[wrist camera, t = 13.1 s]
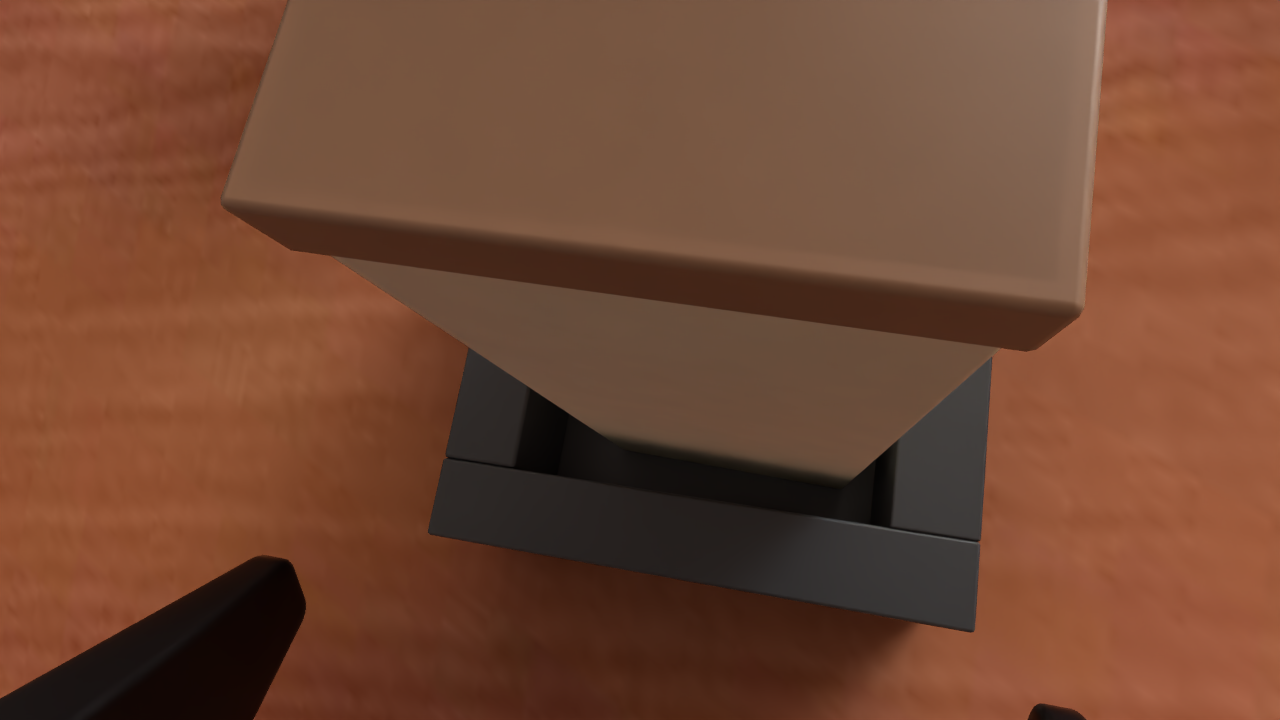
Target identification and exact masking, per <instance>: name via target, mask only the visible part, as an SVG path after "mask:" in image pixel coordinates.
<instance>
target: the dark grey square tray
mask: <svg viewBox="0 0 1280 720" xmlns="http://www.w3.org/2000/svg"><path fill="white" fill-rule="evenodd" d="M991 370H992V357H991V358H990V359H989V360H987V361H986V362H985V363H984V364H983V365H982V366H981V367H980V368H978V369H977V370H976V371H975V372H974V373H973V374H972V375H970V376H969V377H968V378H967V379H966V380H965V381H964V382H963V383H961V384H960V385H959V386H958V387H957V388H956V389H955V390H953V391H952V392H951V393H950V394H949V395H948V396H947V397H946V398H944V399H943V400H942V401H941V402H940V403H939V404H938V405H936V406H935V407H934V408H933V409H932V410H931V411H930V412H929V413H927V414H926V415H925V416H924V417H923V418H922V419H921V420H919V421H918V422H917V423H916V424H915V425H914V426H913V427H912V428H910V429H909V430H908V431H907V432H906V433H905V434H904V435H902V436H901V437H900V438H899V439H898V440H897V441H896V442H895V443H893V444H892V445H891V446H890V447H889V448H888V449H887V450H885V451H884V452H883V453H882V454H881V455H880V456H879V457H878V458H876V459H875V460H874V461H873V462H872V463H871V464H870V465H869V466H867V467H866V468H865V469H864V470H863V471H862V472H861V473H859V474H858V475H857V476H856V477H855V478H854V479H853V480H852V481H850V482H849V483H848V484H847V485H846V486H845V487H844V488H842V489H836V488H830V487H825V486H819V485H814V484H809V483H803V482H798V481H792V480H787V479H781V478H776V477H770V476H765V475H759V474H754V473H748V472H743V471H737V470H732V469H727V468H721V467H716V466H710V465H705V464H699V463H694V462H688V461H683V460H677V459H672V458H666V457H661V456H655V455H650V454H645V453H639V452H634V451H628V450H623V449H622V448H620V447H619V446H617V445H616V444H614V443H613V442H611V441H610V440H608V439H607V438H605V437H604V436H602V435H601V434H599V433H598V432H596V431H595V430H593V429H592V428H590V427H588V426H587V425H585V424H584V423H582V422H581V421H579V420H578V419H576V418H575V417H573V416H572V415H570V414H569V413H567V412H566V411H564V410H563V409H561V408H560V407H558V406H557V405H555V404H554V403H552V402H551V401H549V400H548V399H546V398H545V397H543V396H542V395H540V394H539V393H537V392H536V391H534V390H533V389H531V388H530V387H528V386H527V385H525V384H524V383H522V382H521V381H519V380H518V379H516V378H514V377H513V376H511V375H510V374H508V373H507V372H505V371H504V370H502V369H501V368H499V367H498V366H496V365H495V364H493V363H492V362H490V361H489V360H487V359H486V358H484V357H483V356H481V355H480V354H478V353H477V352H475V351H474V350H472V349H471V348H469V349H468V354H467V358H466V363H465V367H464V372H463V376H462V381H461V385H460V390H459V394H458V399H457V403H456V408H455V413H454V417H453V422H452V426H451V431H450V435H449V440H448V444H447V449H446V457H448V458H446V459H444V460H443V465H442V469H441V474H440V478H439V483H438V487H437V492H436V496H435V501H434V505H433V510H432V514H431V519H430V524H429V528H428V533H429V534H430V535H435V536H440V537H446V538H451V539H457V540H462V541H468V542H473V543H479V544H484V545H490V546H495V547H501V548H506V549H512V550H517V551H523V552H528V553H534V554H540V555H545V556H551V557H556V558H562V559H567V560H573V561H578V562H584V563H589V564H595V565H600V566H606V567H611V568H617V569H622V570H628V571H633V572H639V573H644V574H650V575H655V576H661V577H666V578H672V579H678V580H683V581H689V582H694V583H700V584H705V585H711V586H716V587H722V588H727V589H733V590H738V591H744V592H749V593H755V594H760V595H766V596H771V597H777V598H782V599H788V600H793V601H799V602H804V603H810V604H816V605H821V606H827V607H832V608H838V609H843V610H849V611H854V612H860V613H865V614H871V615H876V616H882V617H887V618H893V619H898V620H904V621H909V622H915V623H920V624H926V625H931V626H937V627H943V628H948V629H954V630H959V631H965V632H970V633H971V632H974V630H975V621H976V605H977V589H978V573H979V557H980V544H979V543H978V541H980V540H981V529H982V513H983V497H984V481H985V465H986V449H987V433H988V418H989V402H990V386H991Z"/></svg>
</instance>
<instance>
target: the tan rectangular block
mask: <svg viewBox="0 0 1280 720" xmlns="http://www.w3.org/2000/svg"><path fill="white" fill-rule="evenodd" d="M1107 1H1108V0H288V2H287V5H286V8H285V11H284V13H283V16H282V19H281V22H280V25H279V28H278V31H277V34H276V37H275V40H274V43H273V46H272V49H271V52H270V54H269V57H268V60H267V63H266V66H265V69H264V72H263V75H262V78H261V81H260V84H259V87H258V90H257V93H256V96H255V98H254V101H253V104H252V107H251V110H250V113H249V116H248V119H247V122H246V125H245V128H244V131H243V134H242V137H241V140H240V142H239V145H238V148H237V151H236V154H235V157H234V160H233V163H232V166H231V169H230V172H229V175H228V178H227V181H226V184H225V186H224V189H223V192H222V195H221V205H222V206H223V208H224V209H226V210H227V211H229V212H230V213H232V214H233V215H235V216H237V217H238V218H240V219H241V220H243V221H245V222H246V223H248V224H249V225H251V226H253V227H254V228H256V229H258V230H259V231H261V232H262V233H264V234H266V235H267V236H269V237H270V238H272V239H274V240H275V241H277V242H279V243H280V244H282V245H283V246H285V247H287V248H288V249H290V250H293V251H300V252H308V253H315V254H322V255H329V256H332V257H333V258H335V259H336V260H338V261H339V262H341V263H342V264H344V265H345V266H347V267H348V268H350V269H351V270H353V271H354V272H356V273H357V274H359V275H360V276H362V277H363V278H365V279H366V280H368V281H370V282H371V283H373V284H374V285H376V286H377V287H379V288H380V289H382V290H383V291H385V292H386V293H388V294H389V295H391V296H392V297H394V298H395V299H397V300H398V301H400V302H401V303H403V304H404V305H406V306H407V307H409V308H410V309H412V310H413V311H415V312H416V313H418V314H419V315H421V316H422V317H424V318H425V319H427V320H428V321H430V322H431V323H433V324H434V325H436V326H437V327H439V328H440V329H442V330H444V331H445V332H447V333H448V334H450V335H451V336H453V337H454V338H456V339H457V340H459V341H460V342H462V343H463V344H465V345H466V346H468V347H469V348H471V349H472V350H474V351H475V352H477V353H478V354H480V355H481V356H483V357H484V358H486V359H487V360H489V361H490V362H492V363H493V364H495V365H496V366H498V367H499V368H501V369H502V370H504V371H505V372H507V373H508V374H510V375H511V376H513V377H514V378H516V379H518V380H519V381H521V382H522V383H524V384H525V385H527V386H528V387H530V388H531V389H533V390H534V391H536V392H537V393H539V394H540V395H542V396H543V397H545V398H546V399H548V400H549V401H551V402H552V403H554V404H555V405H557V406H558V407H560V408H561V409H563V410H564V411H566V412H567V413H569V414H570V415H572V416H573V417H575V418H576V419H578V420H579V421H581V422H582V423H584V424H585V425H587V426H588V427H590V428H592V429H593V430H595V431H596V432H598V433H599V434H601V435H602V436H604V437H605V438H607V439H608V440H610V441H611V442H613V443H614V444H616V445H617V446H619V447H620V448H622V449H623V450H628V451H634V452H639V453H645V454H650V455H655V456H661V457H666V458H672V459H677V460H683V461H688V462H694V463H699V464H705V465H710V466H716V467H721V468H727V469H732V470H737V471H743V472H748V473H754V474H759V475H765V476H770V477H776V478H781V479H787V480H792V481H798V482H803V483H809V484H814V485H819V486H825V487H830V488H836V489H842V488H844V487H845V486H846V485H847V484H848V483H849V482H850V481H852V480H853V479H854V478H855V477H856V476H857V475H858V474H859V473H861V472H862V471H863V470H864V469H865V468H866V467H867V466H869V465H870V464H871V463H872V462H873V461H874V460H875V459H876V458H878V457H879V456H880V455H881V454H882V453H883V452H884V451H885V450H887V449H888V448H889V447H890V446H891V445H892V444H893V443H895V442H896V441H897V440H898V439H899V438H900V437H901V436H902V435H904V434H905V433H906V432H907V431H908V430H909V429H910V428H912V427H913V426H914V425H915V424H916V423H917V422H918V421H919V420H921V419H922V418H923V417H924V416H925V415H926V414H927V413H929V412H930V411H931V410H932V409H933V408H934V407H935V406H936V405H938V404H939V403H940V402H941V401H942V400H943V399H944V398H946V397H947V396H948V395H949V394H950V393H951V392H952V391H953V390H955V389H956V388H957V387H958V386H959V385H960V384H961V383H963V382H964V381H965V380H966V379H967V378H968V377H969V376H970V375H972V374H973V373H974V372H975V371H976V370H977V369H978V368H980V367H981V366H982V365H983V364H984V363H985V362H986V361H987V360H989V359H990V358H991V357H992V356H993V355H994V354H995V353H997V352H998V351H999V350H1000V349H1001V348H1004V349H1012V350H1019V351H1026V352H1027V351H1031V350H1035V349H1037V348H1039V347H1040V346H1041V345H1043V344H1044V343H1045V342H1047V341H1048V340H1049V339H1051V338H1052V337H1053V336H1055V335H1056V334H1057V333H1058V332H1060V331H1061V330H1062V329H1064V328H1065V327H1066V326H1068V325H1069V324H1070V323H1072V322H1073V321H1074V320H1076V319H1077V318H1078V317H1079V316H1080V314H1081V313H1082V311H1083V309H1084V307H1085V293H1086V280H1087V267H1088V253H1089V240H1090V227H1091V214H1092V200H1093V187H1094V174H1095V161H1096V147H1097V134H1098V121H1099V107H1100V94H1101V81H1102V68H1103V54H1104V41H1105V28H1106V15H1107Z"/></svg>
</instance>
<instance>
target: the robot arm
mask: <svg viewBox="0 0 1280 720" xmlns="http://www.w3.org/2000/svg"><path fill="white" fill-rule="evenodd" d="M305 611H306V600H305V597H304V594H303V591H302V589H301V586H300V583H299V580H298V577H297V575H296V572H295V569H294V566H293V565H292V563H291V562H290V561H288V560H287V559H283V558H277V557H272V556H267V555H261V556H257V557H254V558H252V559H250V560H248V561H246V562H244V563H243V564H241V565H239V566H237V567H235V568H234V569H232V570H230V571H228V572H227V573H225V574H223V575H221V576H219V577H218V578H216V579H214V580H212V581H210V582H209V583H207V584H205V585H203V586H201V587H200V588H198V589H196V590H194V591H192V592H191V593H189V594H187V595H185V596H183V597H182V598H180V599H178V600H176V601H174V602H173V603H171V604H169V605H167V606H165V607H164V608H162V609H160V610H158V611H157V612H155V613H153V614H151V615H149V616H148V617H146V618H144V619H142V620H140V621H139V622H137V623H135V624H133V625H131V626H130V627H128V628H126V629H124V630H122V631H121V632H119V633H117V634H115V635H113V636H112V637H110V638H108V639H106V640H104V641H103V642H101V643H99V644H97V645H96V646H94V647H92V648H90V649H88V650H87V651H85V652H83V653H81V654H79V655H78V656H76V657H74V658H72V659H70V660H69V661H67V662H65V663H63V664H61V665H60V666H58V667H56V668H54V669H52V670H51V671H49V672H47V673H45V674H43V675H42V676H40V677H38V678H36V679H35V680H33V681H31V682H29V683H27V684H26V685H24V686H22V687H20V688H18V689H17V690H15V691H13V692H11V693H9V694H8V695H6V696H4V697H2V698H0V720H253V719H254V717H255V715H256V713H257V711H258V709H259V707H260V705H261V703H262V701H263V699H264V697H265V695H266V693H267V691H268V689H269V687H270V685H271V683H272V681H273V679H274V677H275V675H276V673H277V671H278V669H279V667H280V665H281V663H282V661H283V659H284V657H285V655H286V653H287V651H288V649H289V647H290V645H291V643H292V641H293V639H294V637H295V635H296V633H297V631H298V629H299V627H300V625H301V623H302V621H303V619H304V615H305ZM1028 720H1086V719H1085V718H1084V717H1083V716H1082V715H1081V714H1080V713H1078V712H1077V711H1075V710H1072V709H1068V708H1063V707H1058V706H1053V705H1048V704H1037V705H1036V706H1034V707H1033V709H1032V711H1031V713H1030V715H1029V718H1028Z"/></svg>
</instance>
